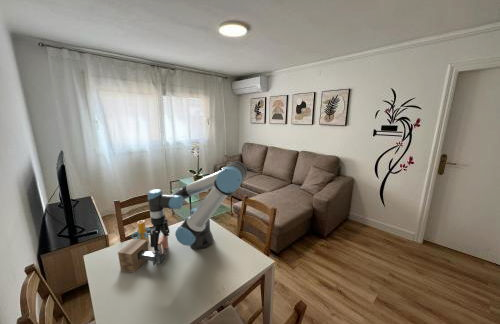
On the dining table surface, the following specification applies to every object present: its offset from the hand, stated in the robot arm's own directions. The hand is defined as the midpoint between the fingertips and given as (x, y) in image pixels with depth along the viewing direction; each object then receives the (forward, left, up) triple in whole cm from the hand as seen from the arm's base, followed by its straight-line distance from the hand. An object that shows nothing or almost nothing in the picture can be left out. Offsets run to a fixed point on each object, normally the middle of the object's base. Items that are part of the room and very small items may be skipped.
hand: (162, 249), depth 122 cm
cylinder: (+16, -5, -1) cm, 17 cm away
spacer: (0, 0, 0) cm, 0 cm away
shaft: (-1, +12, +3) cm, 12 cm away
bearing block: (+8, +12, -1) cm, 15 cm away
